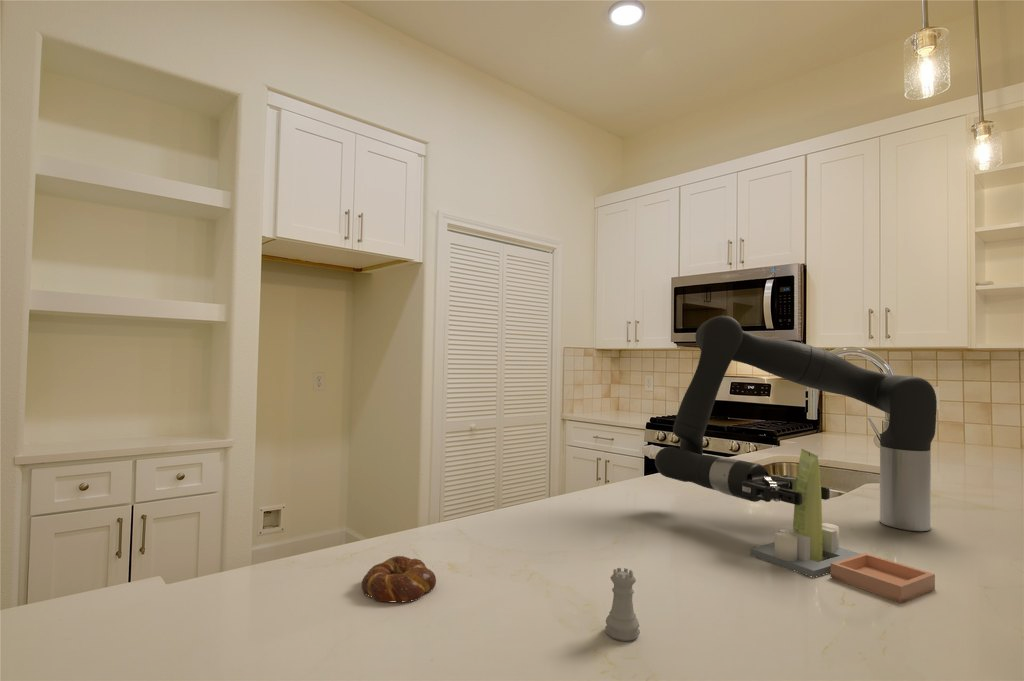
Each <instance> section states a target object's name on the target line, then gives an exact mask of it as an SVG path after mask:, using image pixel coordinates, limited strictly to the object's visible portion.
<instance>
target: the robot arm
mask: <svg viewBox="0 0 1024 681" xmlns="http://www.w3.org/2000/svg"><path fill="white" fill-rule="evenodd" d="M694 337H695V343H696V345H697V347H698V348H699V349H700V355H699V356H700V357H699V360H698V364H697V367H696V369H695V371H694V374H693V377H692V379H691V382H690V384H689V385H688V388H687V389H686V392H685V393H684V396H683V397H682V400H681V402H680V405H679V407H678V411H677V414H676V418H675V421H674V423H673V427H672V432H673V434H674V435H675V436H676V438H678V439H679V447H675V446H667V447H663V448H661V449H659V451H658V452H657V453H656V455H655V458H654V465H655V467H656V468H655V469H656V470H657V471H658V473H659V474H660V475H662V476H663V477H665V478H668V479H671V480H677V481H680V482H683V483H692V484H695V485H698V486H701V487H703V488H706V489H710V490H712V491H713V490H714V491H716V492H720V493H721V494H724V495H727V496H730V497H735V498H737V499H742V500H746V501H750V502H755V503H756V502H757V503H758V502H759V501H763V502H765V503H769V502H771V501H774V502H777V503H778V502H783V503H787V504H792V505H794V506H795V505H801V504H802V494H801V493H800V492H796V483H797V476H796V477H795V476H791V475H790V476H789V475H786V474H785V475H782V476H781V475H779V474H771V475H770V474H769V473H768V471H767V469H766V467H765V466H763V465H762V464H761V463H760V464H759V463H756V462H750V461H745V460H740V459H735V458H729V457H728V458H726V457H725V458H724V457H719V456H715V455H710V454H703V453H704V451H703V450H704V449H703V448H704V436H705V433H706V430H707V427H708V425H709V421H710V418H711V414H712V411H713V408H714V405H715V402H716V399H717V397H718V396H717V395H718V393H719V390H720V388H721V385H722V382H723V380H724V377H725V375H726V373H727V370H728V368H729V366H730V364H731V363H732V361H733V362H738V363H742V364H745V365H747V366H748V365H749V366H750V367H751V366H752V367H754V368H757V369H759V370H761V371H764V372H766V373H768V374H771V375H774V376H777V377H779V378H781V379H784V380H787V381H790V382H792V383H795V384H798V385H800V386H805V387H808V388H811V389H814V390H818V391H821V392H825V393H830V394H835V395H841V396H846V397H848V398H851V399H854V400H856V401H859V402H862V403H864V404H867V405H869V406H871V407H874V408H875V409H877V410H880V411H882V412H884V413H886V414H888V415H889V418H888V426H887V428H886V430H884V431H883V432H882V433H880V436H879V522H880V523H881V524H882V525H886V526H888V527H890V528H894V529H895V528H896V529H899V530H904V531H910V532H911V531H912V532H914V531H915V532H927V531H931V518H932V517H931V513H932V512H931V511H932V507H931V505H932V504H931V503H932V502H931V500H932V499H931V494H932V491H931V488H932V487H931V485H932V484H931V481H932V476H931V475H932V474H931V473H932V469H931V468H932V467H931V466H932V464H931V463H932V462H931V460H932V459H931V457H932V456H931V451H932V448H931V447H932V441H933V440H934V438H935V435H936V430H937V429H936V428H937V427H936V424H937V410H938V409H937V404H938V403H937V400H938V399H937V395H936V391H935V389H934V387H933V385H932V384H931V383H930V382H929V381H927V380H926V379H924V378H922V377H918V376H913V375H912V376H911V375H898V374H897V375H896V374H887V373H883V372H879V371H873V370H870V369H866V368H863V367H860V366H857V365H855V364H853V362H852V363H851V362H850V361H848V360H846V359H845V358H843V357H841V356H839V355H837V354H835V353H833V352H831V351H828V350H826V349H822V348H820V347H816V346H812V345H811V344H810V345H809V344H806V343H803V342H798V341H792V340H786V339H779V338H772V337H766V336H764V337H763V336H759V335H756V334H753V333H751V332H749V331H746V330H745V331H744V330H743V328H742V326H741V324H740V323H739V322H738V321H737V320H736V319H735V318H733V317H731V316H728V315H718V316H714V317H711V318H709V319H708V320H706V321H704V322H703V323H701V324H700V325H699V327H698V328H697V330H696V332H695V336H694ZM830 492H831V489H830V488H829V487H826V486H822V485H821V500H825V501H827V500H830V499H831V498H830V497H831V496H830V495H831V493H830Z"/></svg>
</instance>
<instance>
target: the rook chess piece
mask: <svg viewBox="0 0 1024 681" xmlns="http://www.w3.org/2000/svg"><path fill="white" fill-rule="evenodd" d="M610 580H611V581H612V583H613V587H612V588H611V591H612V593H613V598H612V603H611V604H612V605H611V609H610V611H609V614H608V615H607V616H606V619H605V625H606V626H605V627H604V630H605V632H606V634H607V635H608V636H609V637H610V638H611V639H613V640H615V639H616V641H620V642H632V641H633V640H636V639H637V638H638V637H639V635H640V633H641V632H640V629H639V627H640V621H639V619H638V618H637V615H636V613H635V610H634V603H633V602H634V601H633V595H634V593H635V591H634V589H633V585H634V584H635V583H636V582H637V580H636V578H635V576H634V571H633V570H631V569H629V568H624V567H623V571H622V568H621V567H617V568H614V569H613V574H612V575H611V576H610Z"/></svg>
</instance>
